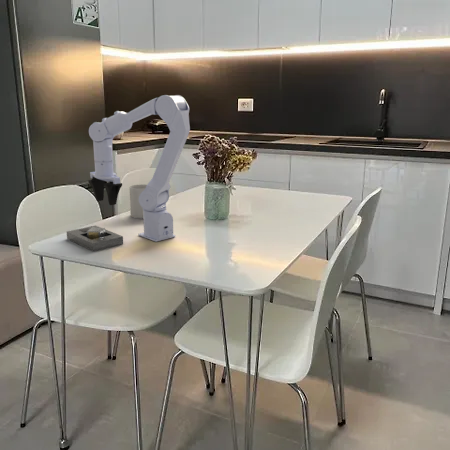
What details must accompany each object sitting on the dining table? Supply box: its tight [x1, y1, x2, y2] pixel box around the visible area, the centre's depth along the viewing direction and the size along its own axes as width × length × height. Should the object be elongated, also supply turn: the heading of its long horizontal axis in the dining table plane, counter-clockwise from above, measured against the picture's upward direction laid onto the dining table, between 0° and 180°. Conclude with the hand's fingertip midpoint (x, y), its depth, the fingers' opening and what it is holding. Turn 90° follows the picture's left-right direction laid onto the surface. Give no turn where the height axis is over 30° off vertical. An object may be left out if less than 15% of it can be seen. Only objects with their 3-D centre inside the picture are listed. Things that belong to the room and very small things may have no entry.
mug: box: [129, 184, 147, 219], centre depth 167 cm, size 12×8×11 cm
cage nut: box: [87, 227, 106, 240], centre depth 139 cm, size 4×5×4 cm
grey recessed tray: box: [66, 225, 124, 252], centre depth 139 cm, size 16×10×2 cm, turn 45°
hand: (106, 202), depth 148 cm, fingers open, 7 cm apart
